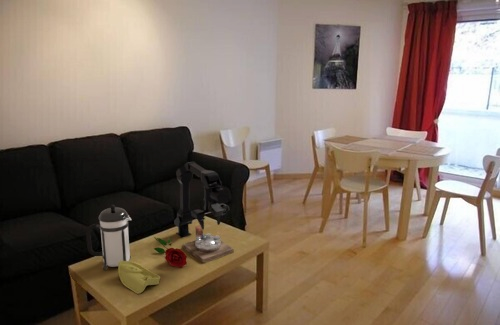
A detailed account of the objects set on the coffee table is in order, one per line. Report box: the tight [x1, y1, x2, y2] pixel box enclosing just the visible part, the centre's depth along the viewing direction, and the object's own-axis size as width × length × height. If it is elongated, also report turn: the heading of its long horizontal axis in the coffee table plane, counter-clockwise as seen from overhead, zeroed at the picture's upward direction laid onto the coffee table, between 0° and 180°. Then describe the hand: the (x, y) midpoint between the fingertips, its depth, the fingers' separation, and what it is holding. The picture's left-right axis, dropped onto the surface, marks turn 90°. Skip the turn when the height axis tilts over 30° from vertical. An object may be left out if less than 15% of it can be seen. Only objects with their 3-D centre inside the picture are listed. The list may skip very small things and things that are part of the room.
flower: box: [153, 237, 188, 268], centre depth 186 cm, size 9×10×30 cm
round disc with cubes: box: [194, 224, 222, 252], centre depth 195 cm, size 18×13×7 cm
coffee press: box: [85, 204, 132, 271], centre depth 175 cm, size 17×16×30 cm
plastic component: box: [117, 260, 161, 294], centre depth 165 cm, size 20×7×10 cm
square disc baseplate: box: [182, 234, 235, 264], centre depth 194 cm, size 20×18×2 cm
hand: (210, 227), depth 187 cm, fingers open, 9 cm apart
